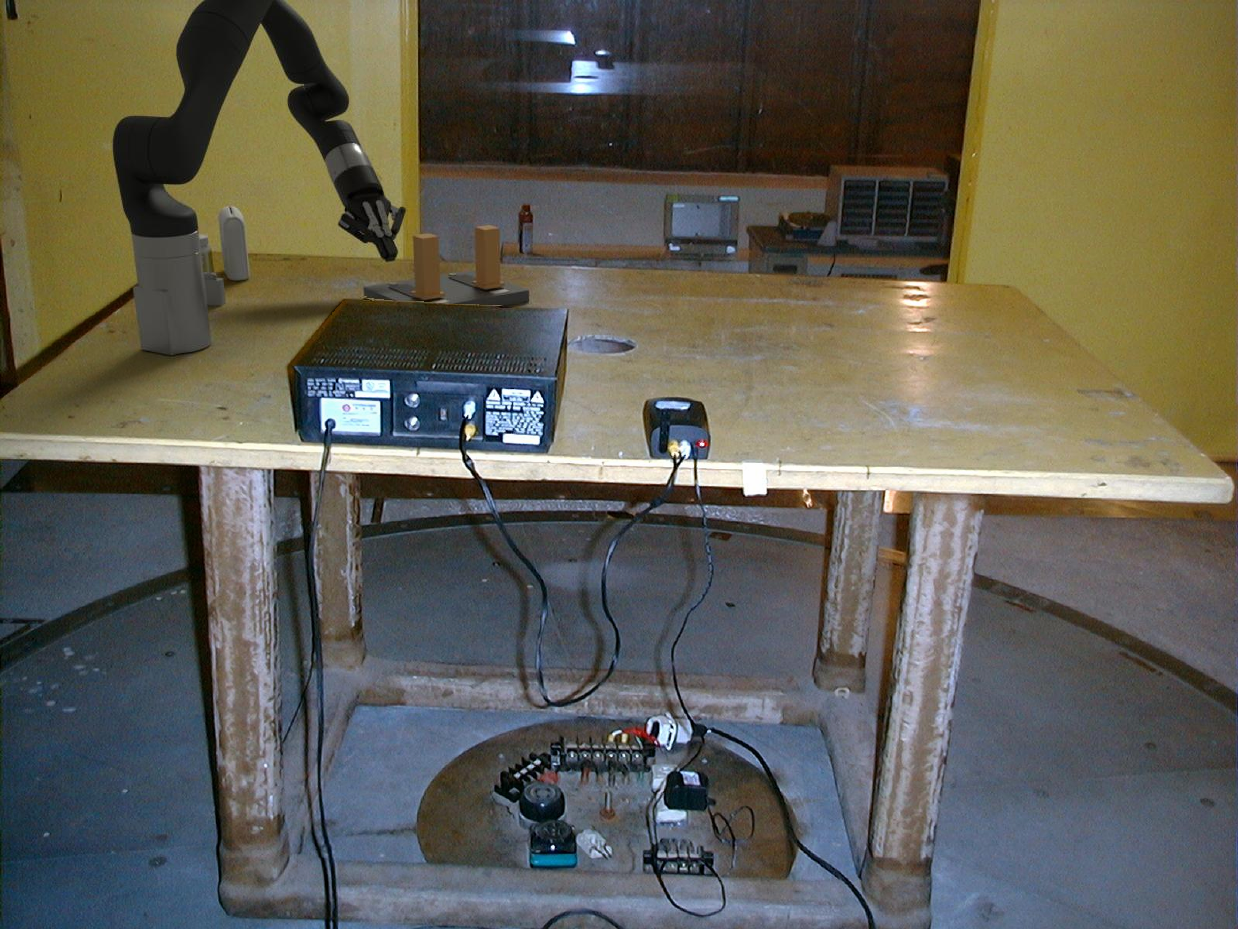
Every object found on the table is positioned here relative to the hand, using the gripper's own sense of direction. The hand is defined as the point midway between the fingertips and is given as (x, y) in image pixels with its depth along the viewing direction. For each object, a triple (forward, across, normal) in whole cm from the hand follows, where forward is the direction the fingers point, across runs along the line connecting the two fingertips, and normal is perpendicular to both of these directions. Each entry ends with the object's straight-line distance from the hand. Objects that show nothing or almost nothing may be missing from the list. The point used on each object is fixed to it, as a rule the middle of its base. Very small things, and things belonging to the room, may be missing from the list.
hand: (392, 258), depth 209 cm
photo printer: (-16, -16, +26) cm, 34 cm away
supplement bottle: (-14, -24, +24) cm, 37 cm away
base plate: (+10, +6, -1) cm, 12 cm away
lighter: (-5, -28, +14) cm, 32 cm away
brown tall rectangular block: (+11, +12, -5) cm, 17 cm away
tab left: (+11, 0, -6) cm, 12 cm away
